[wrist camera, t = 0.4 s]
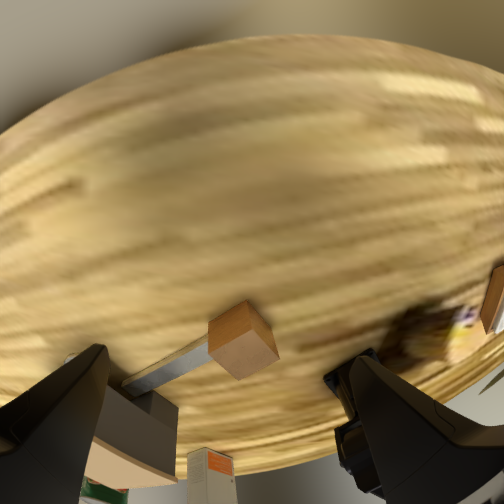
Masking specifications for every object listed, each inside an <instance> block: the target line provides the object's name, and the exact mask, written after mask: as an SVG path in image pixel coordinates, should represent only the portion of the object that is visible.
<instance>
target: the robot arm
mask: <svg viewBox="0 0 504 504" xmlns="http://www.w3.org/2000/svg"><path fill="white" fill-rule="evenodd" d="M110 366H111V363H110V358H109V354H108V350H107V347H106V346H105V345H103V344H97V343H95V344H93V345H92V346H90V347H89V348H87V349H86V350H84V351H83V352H81V353H80V354H79V355H77V356H76V357H74V358H73V359H71V360H70V361H68V362H67V363H66V364H64V365H63V366H61V367H60V368H58V369H57V370H55V371H54V372H53V373H51V374H50V375H48V376H47V377H45V378H44V379H43V380H41V381H40V382H38V383H37V384H35V385H34V386H33V387H31V388H30V389H29V391H28V390H27V391H25V392H24V393H23V394H21V395H20V396H18V397H17V398H15V399H14V400H12V401H11V402H9V403H7V404H6V405H4V406H2V407H0V504H78V503H79V497H80V492H81V487H82V482H83V477H84V473H85V468H86V464H87V460H88V456H89V452H90V448H91V444H92V440H93V437H94V433H95V430H96V426H97V423H98V419H99V416H100V413H101V409H102V406H103V402H104V397H105V392H106V387H107V382H108V377H109V372H110ZM323 380H324V382H325V383H326V385H327V386H328V387H329V388H330V389H331V390H332V391H333V393H334V394H335V395H336V396H337V397H338V398H339V399H340V401H341V403H342V406H343V408H344V410H345V413H346V415H347V417H348V419H349V422H347V423H345V424H343V425H342V426H340V427H339V426H338V427H337V428H335V429H334V431H335V440H336V445H337V451H338V456H339V461H340V466H341V467H343V468H345V469H346V471H347V472H348V473H349V474H350V475H352V476H353V477H354V479H355V482H356V485H357V487H358V489H360V490H361V491H363V492H364V493H369V492H370V493H372V494H374V495H376V496H378V497H380V498H382V499H384V500H386V504H504V425H499V426H484V425H481V424H478V423H476V422H474V421H472V420H470V419H468V418H466V417H464V416H462V415H460V414H458V413H457V412H455V411H453V410H451V409H449V408H447V407H446V406H444V405H442V404H441V403H439V402H438V401H436V400H433V398H431V397H430V396H428V395H427V394H425V393H424V392H422V391H420V390H419V389H417V388H416V387H414V386H413V385H411V384H410V383H408V382H406V381H405V380H403V379H402V378H400V377H399V376H397V375H396V374H394V373H393V372H391V371H390V370H388V369H387V368H385V367H383V366H382V365H381V363H380V361H379V359H378V357H377V355H376V353H375V351H374V350H373V349H372V348H371V349H368V350H367V351H365V352H364V353H362V354H361V355H359V356H357V357H356V358H354V359H353V360H351V361H349V362H348V363H346V364H345V365H343V366H341V367H340V368H338V369H336V370H335V371H333V372H331V373H329V374H328V375H326V376H325V377H324V378H323Z"/></svg>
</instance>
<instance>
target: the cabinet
mask: <svg viewBox="0 0 504 504" xmlns="http://www.w3.org/2000/svg"><path fill="white" fill-rule="evenodd" d="M178 410H179V408H178V407H176V406H175V405H173V404H172V403H170V402H169V401H168V400H166V399H165V398H163V397H162V396H161V395H159V394H158V393H156V392H155V391H152V392H150V393H148V394H145V395H143V396H141V397H139V398H136V399H134V400H132V401H128V400H127V399H126V398H124V397H123V396H122V395H120V394H119V393H118V392H116V391H115V390H114V389H112V388H111V387H110V386H108V385H107V387H106V392H105V397H104V402H103V406H102V409H101V413H100V416H99V419H98V423H97V426H96V430H95V433H94V437H93V440H92V444H91V448H90V452H89V456H88V460H87V464H86V468H85V473H84V475H85V476H87V477H89V478H91V479H93V480H95V481H97V482H99V483H101V484H103V485H105V486H107V487H110V488H112V489H128V488H142V487H151V486H161V485H168V484H174V483H178V478H176V477H175V461H176V440H177V424H178Z"/></svg>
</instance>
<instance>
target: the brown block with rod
mask: <svg viewBox="0 0 504 504" xmlns="http://www.w3.org/2000/svg"><path fill="white" fill-rule="evenodd" d="M213 359H214V360H215V361H216V362H217V363H219V364H220V365H221V366H222V367H223V368H224V369H225V370H227V371H228V372H229V373H230V374H231V375H232V376H234V377H235V378H236V379H237V380H238V381H239V380H241V379H243V378H245V377H247V376H249V375H251V374H253V373H255V372H257V371H259V370H261V369H262V368H264V367H266V366H268V365H270V364H272V363H274V362H276V361H277V360H279V359H280V358H279V354H278V351H277V347H276V344H275V340H274V337H273V333H272V330H271V328H270V327H269V326H268V325H267V323H266V322H265V321H264V320H263V319H262V317H261V316H260V315H259V314H258V313H257V312H256V310H255V309H254V308H253V307H252V306H251V304H250V303H249V302H248V301H247V300H245V301H243V302H242V303H240V304H239V305H237V306H235V307H234V308H232V309H230V310H229V311H227V312H225V313H224V314H222V315H220V316H219V317H217V318H216V319H214V320H212V321H211V322H209V323H208V335H206V336H204V337H202V338H201V339H199V340H197V341H195V342H194V343H192V344H190V345H188V346H187V347H185V348H183V349H181V350H179V351H178V352H176V353H174V354H172V355H170V356H168V357H167V358H165V359H163V360H161V361H159V362H157V363H156V364H154V365H152V366H150V367H148V368H146V369H144V370H142V371H141V372H139V373H137V374H135V375H133V376H131V377H129V378H127V379H125V380H123V382H122V386H121V388H123V389H124V390H125V391H127V392H128V393H129V394H131V395H132V396H133V397H136V396H139V395H141V394H143V393H145V392H148V391H150V390H152V389H154V388H156V387H158V386H160V385H163V384H165V383H167V382H169V381H171V380H173V379H175V378H177V377H179V376H181V375H183V374H185V373H187V372H189V371H191V370H193V369H195V368H197V367H199V366H201V365H203V364H205V363H207V362H209V361H211V360H213Z"/></svg>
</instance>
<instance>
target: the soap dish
mask: <svg viewBox="0 0 504 504" xmlns="http://www.w3.org/2000/svg"><path fill="white" fill-rule="evenodd" d="M480 317H481V320H482V323H483V326H484V329H485V332H486V335H487V334H489V333H491V332H492V331H494V332H495V333H498V332H500V331H502V330H503V329H504V265H502V266H500V267H498V268H495V269H494V270H493V274H492V277H491V281H490V285H489V288H488V292H487V295H486V298H485V302H484V305H483V308H482V311H481V313H480Z"/></svg>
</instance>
